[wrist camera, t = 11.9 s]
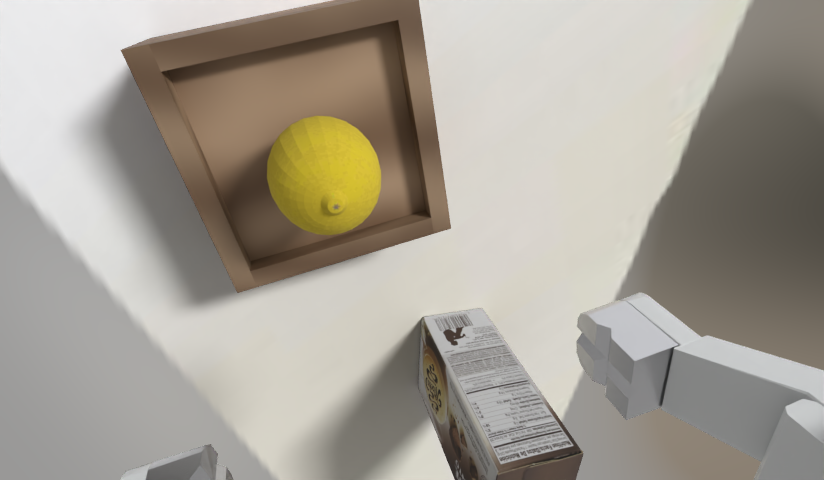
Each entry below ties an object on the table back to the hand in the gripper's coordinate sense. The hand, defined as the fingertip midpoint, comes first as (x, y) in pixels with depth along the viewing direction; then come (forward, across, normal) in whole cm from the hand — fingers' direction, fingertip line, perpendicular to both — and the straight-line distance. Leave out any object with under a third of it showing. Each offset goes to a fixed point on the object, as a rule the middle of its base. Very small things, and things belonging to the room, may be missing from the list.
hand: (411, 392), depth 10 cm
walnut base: (+24, 0, 0) cm, 24 cm away
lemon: (+19, 0, 0) cm, 19 cm away
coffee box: (+24, -7, +24) cm, 35 cm away
